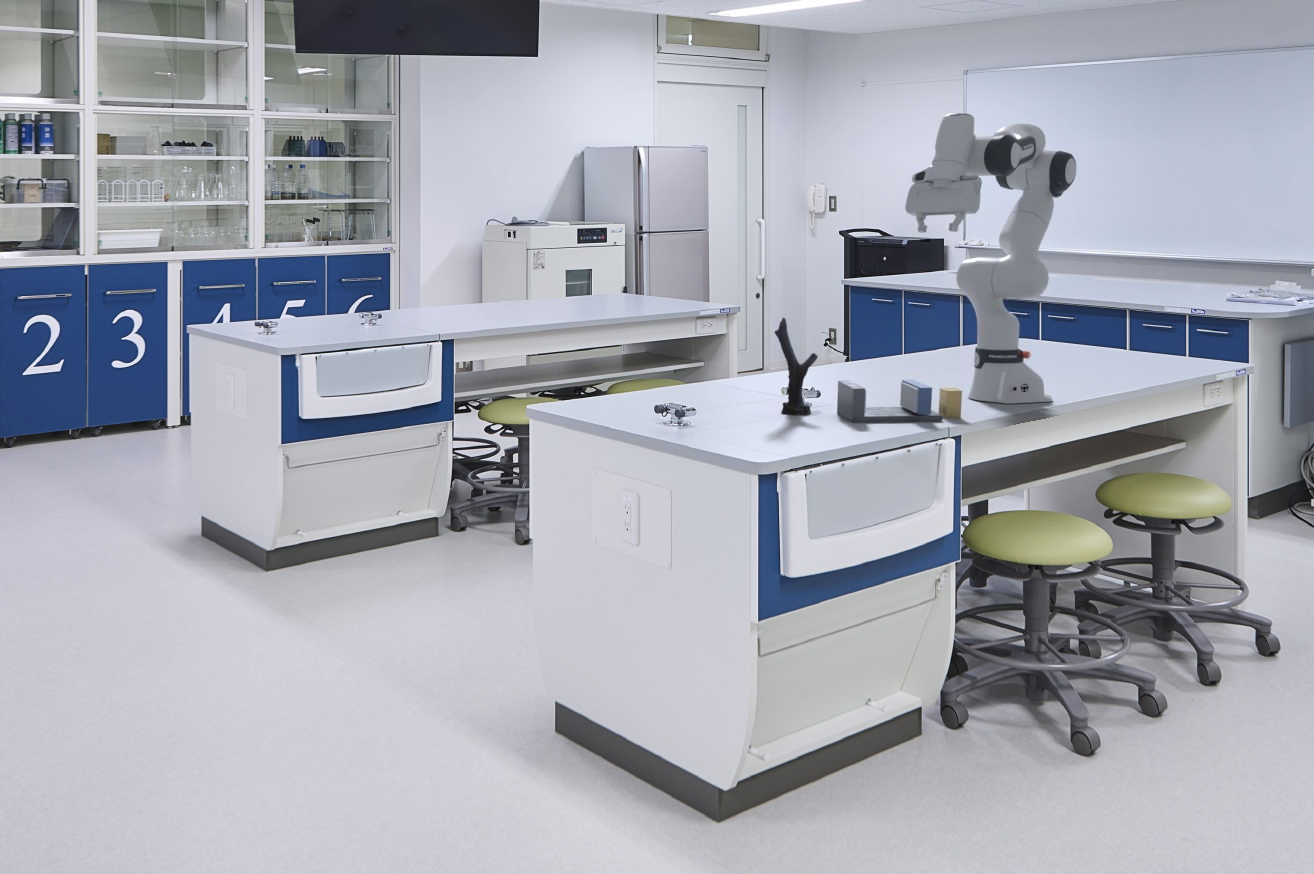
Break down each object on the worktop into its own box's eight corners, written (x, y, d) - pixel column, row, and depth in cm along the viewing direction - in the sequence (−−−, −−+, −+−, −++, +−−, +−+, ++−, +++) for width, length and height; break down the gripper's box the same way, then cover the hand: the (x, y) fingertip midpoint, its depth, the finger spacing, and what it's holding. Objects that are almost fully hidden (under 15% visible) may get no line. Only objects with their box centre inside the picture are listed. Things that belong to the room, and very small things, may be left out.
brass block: (953, 414, 308) (954, 387, 307) (960, 418, 304) (962, 390, 302) (938, 415, 308) (939, 388, 307) (945, 418, 303) (946, 391, 302)
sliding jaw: (912, 405, 311) (913, 379, 310) (930, 414, 298) (932, 387, 296) (898, 405, 311) (900, 379, 310) (916, 414, 297) (918, 387, 296)
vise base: (923, 412, 312) (924, 379, 310) (942, 421, 298) (943, 387, 297) (836, 413, 309) (838, 380, 308) (852, 422, 296) (853, 388, 294)
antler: (797, 409, 315) (800, 314, 310) (819, 413, 309) (823, 316, 304) (766, 414, 307) (768, 316, 303) (789, 418, 301) (791, 318, 297)
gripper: (990, 178, 291) (979, 234, 291) (922, 183, 307) (912, 235, 307) (975, 170, 287) (964, 227, 287) (907, 175, 303) (897, 229, 303)
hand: (937, 231), depth 297 cm, fingers open, 8 cm apart
